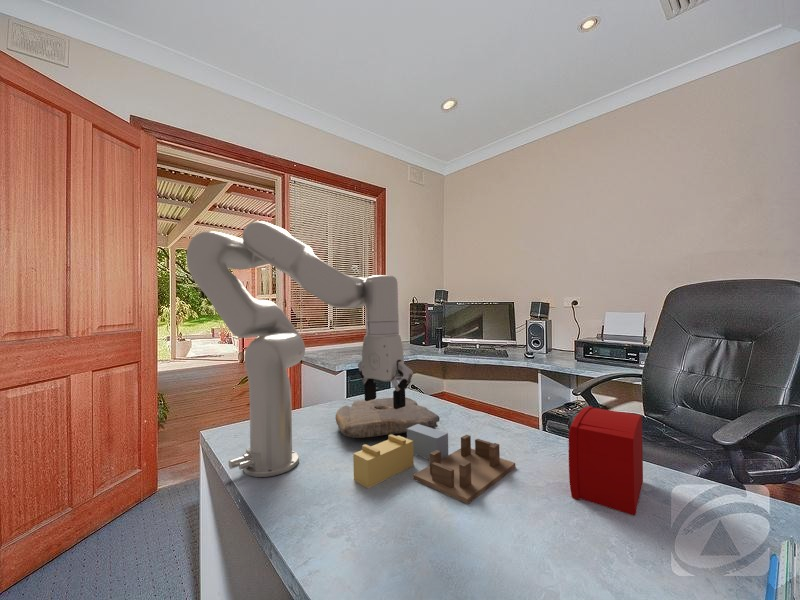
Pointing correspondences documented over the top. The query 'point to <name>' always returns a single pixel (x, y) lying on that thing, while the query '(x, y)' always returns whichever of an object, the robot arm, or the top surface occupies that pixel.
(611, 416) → the fire alarm
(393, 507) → the top surface
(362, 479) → the tan toy brick
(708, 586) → the top surface
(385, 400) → the stone slab
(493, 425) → the top surface
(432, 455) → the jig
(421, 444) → the grey rectangular block
